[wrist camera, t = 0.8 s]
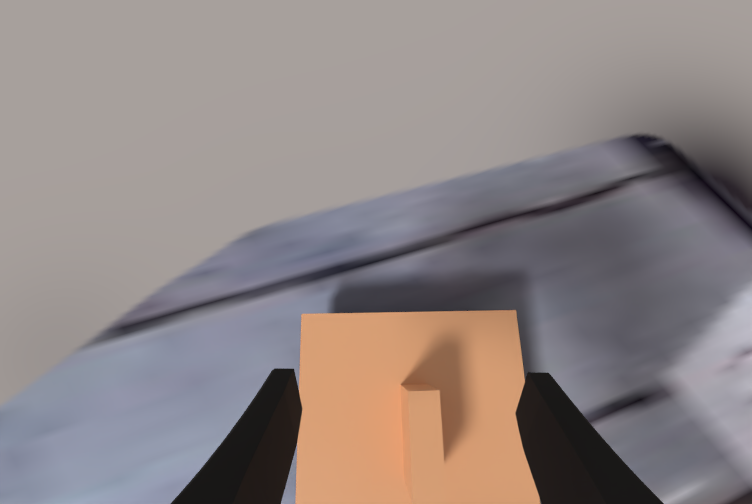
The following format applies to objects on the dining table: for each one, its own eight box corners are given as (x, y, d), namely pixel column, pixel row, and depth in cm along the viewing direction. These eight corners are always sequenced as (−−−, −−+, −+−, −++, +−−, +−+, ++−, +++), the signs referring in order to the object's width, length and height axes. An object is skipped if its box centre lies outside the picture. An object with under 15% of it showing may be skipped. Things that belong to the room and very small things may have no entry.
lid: (533, 547, 21) (587, 609, 16) (298, 560, 20) (278, 627, 15) (506, 312, 24) (542, 302, 20) (305, 316, 24) (291, 307, 19)
